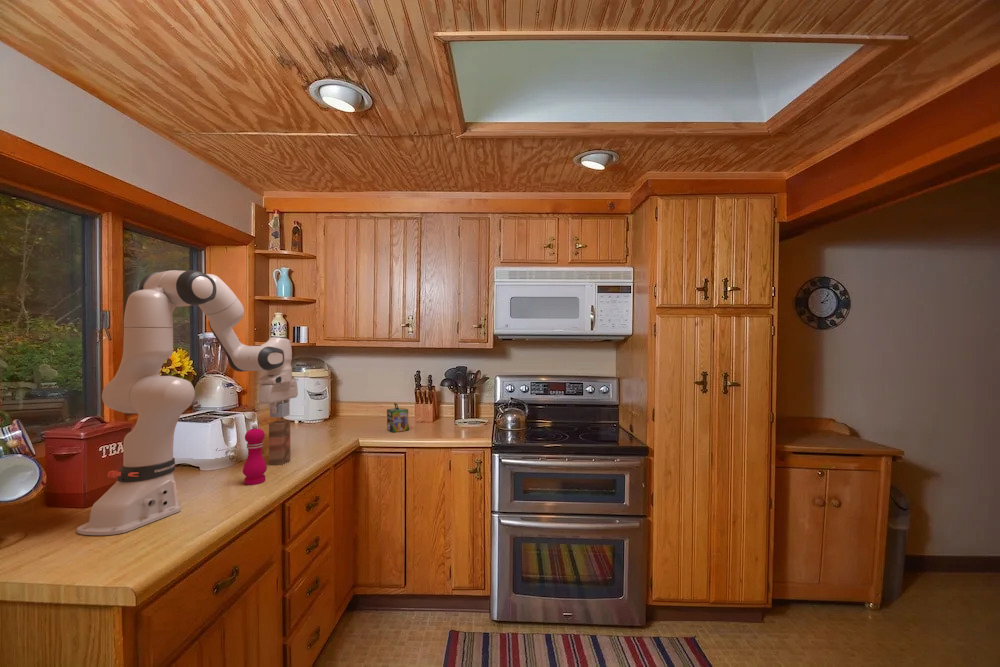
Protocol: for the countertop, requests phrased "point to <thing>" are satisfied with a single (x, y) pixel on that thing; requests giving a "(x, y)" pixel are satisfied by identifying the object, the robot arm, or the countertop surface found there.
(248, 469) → the pepper mill
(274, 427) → the tower top
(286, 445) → the tower mid
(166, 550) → the countertop surface
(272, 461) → the tower base
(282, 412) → the grey cube
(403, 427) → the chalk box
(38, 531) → the countertop surface
